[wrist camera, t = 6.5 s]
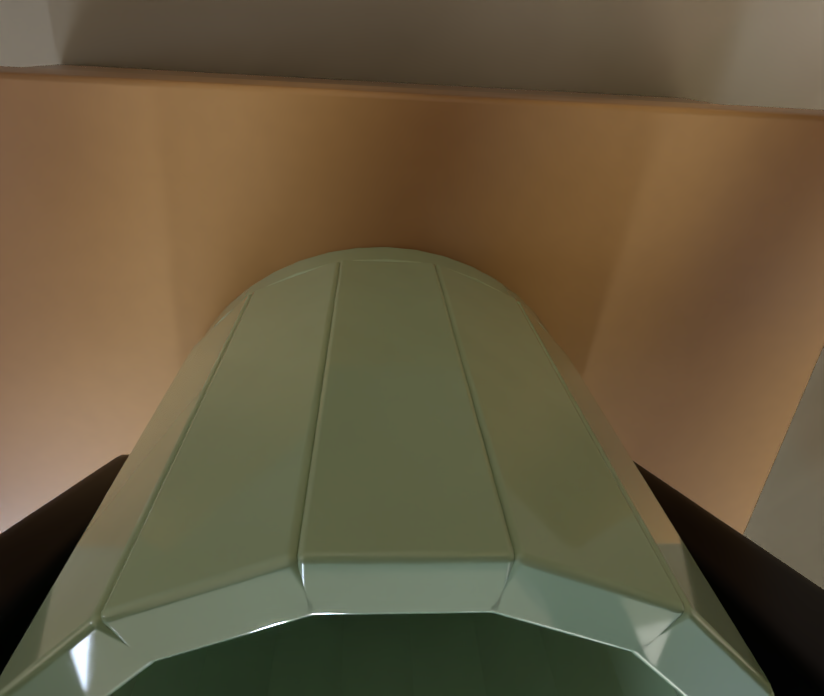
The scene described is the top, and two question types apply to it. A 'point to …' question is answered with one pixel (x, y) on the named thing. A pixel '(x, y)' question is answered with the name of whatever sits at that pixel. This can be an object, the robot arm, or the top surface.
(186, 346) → the shelf
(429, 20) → the top surface
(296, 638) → the ramekin
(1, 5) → the top surface
